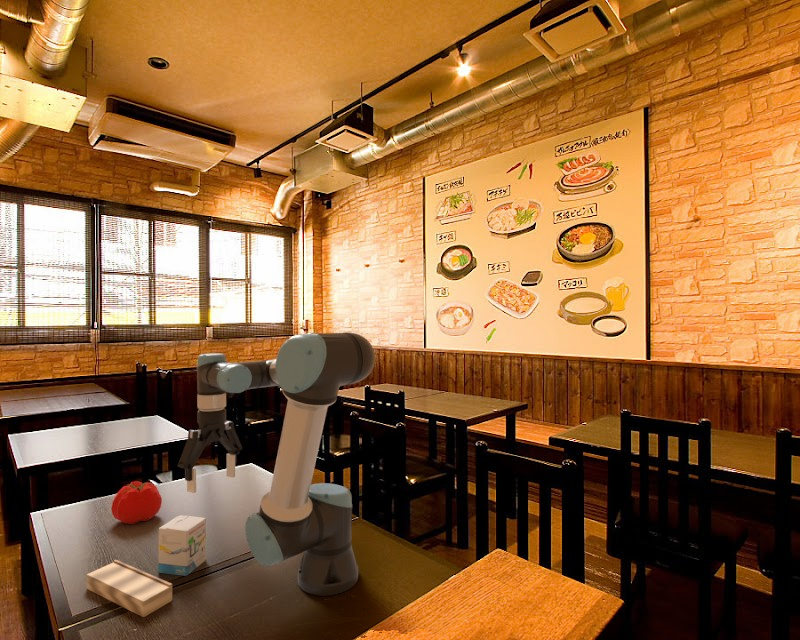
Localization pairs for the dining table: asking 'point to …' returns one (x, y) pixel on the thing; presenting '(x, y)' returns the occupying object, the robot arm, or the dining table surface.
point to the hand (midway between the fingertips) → (212, 483)
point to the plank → (130, 587)
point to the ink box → (182, 545)
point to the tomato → (136, 502)
